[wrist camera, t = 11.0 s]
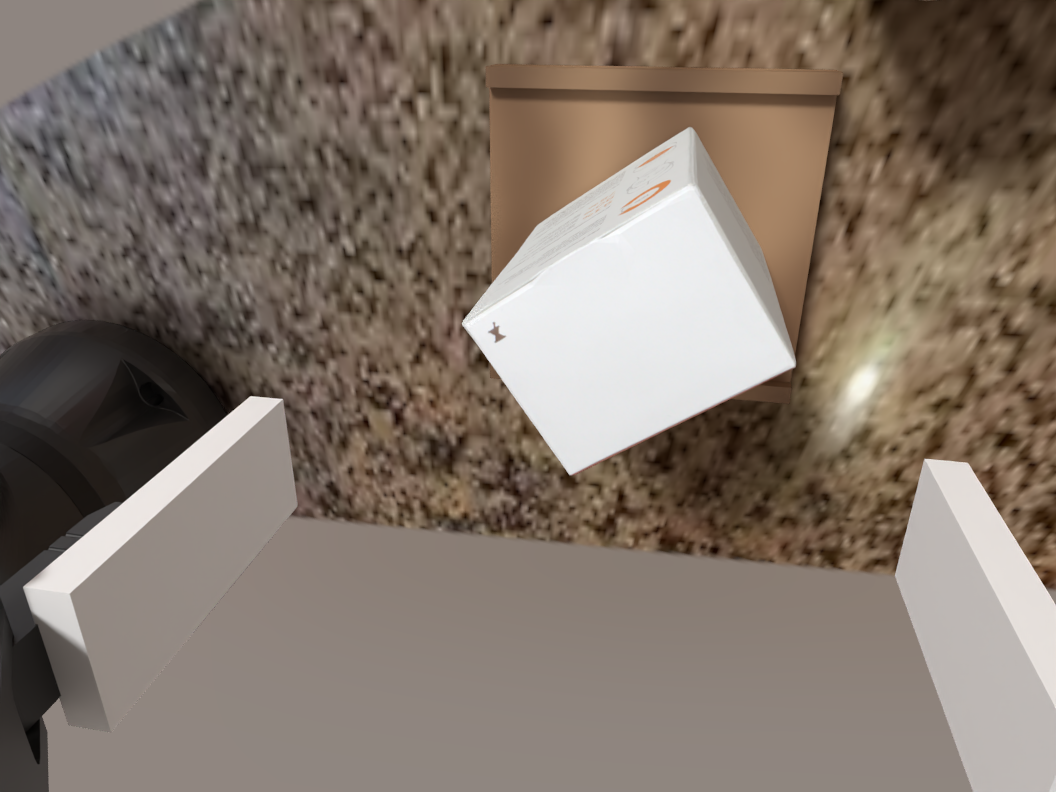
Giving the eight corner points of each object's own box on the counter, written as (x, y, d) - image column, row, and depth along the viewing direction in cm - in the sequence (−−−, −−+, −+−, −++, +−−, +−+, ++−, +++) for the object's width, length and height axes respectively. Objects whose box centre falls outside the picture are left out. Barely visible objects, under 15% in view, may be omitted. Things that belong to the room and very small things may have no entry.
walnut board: (499, 361, 40) (490, 378, 39) (497, 64, 34) (485, 66, 33) (784, 385, 38) (789, 404, 36) (835, 69, 32) (843, 72, 30)
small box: (607, 340, 37) (566, 482, 26) (533, 225, 36) (453, 322, 24) (768, 251, 34) (803, 369, 23) (694, 121, 32) (691, 175, 21)
